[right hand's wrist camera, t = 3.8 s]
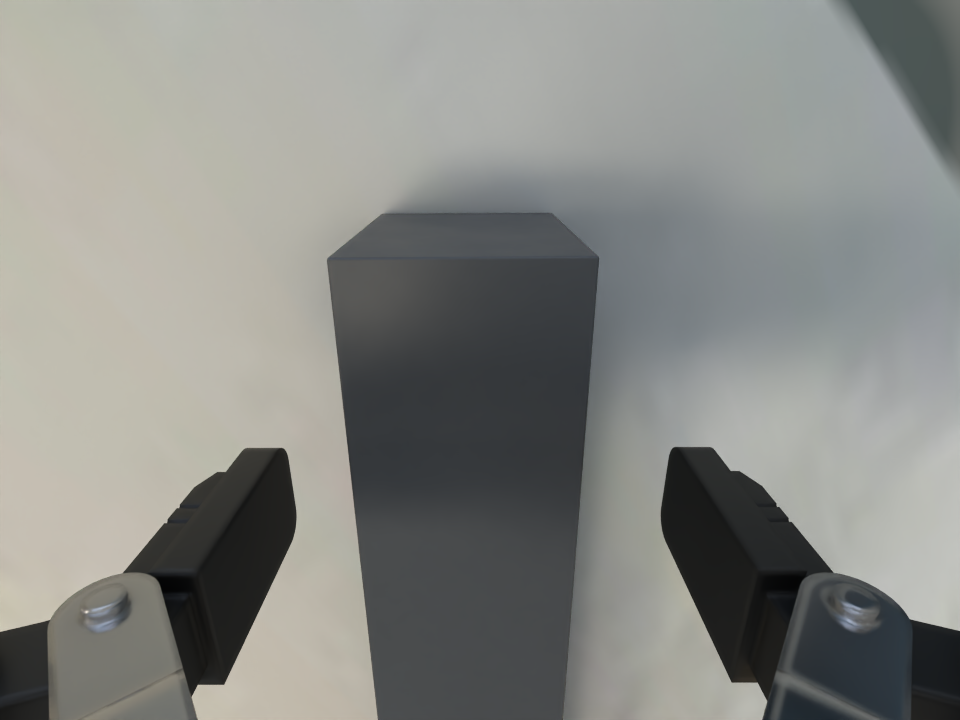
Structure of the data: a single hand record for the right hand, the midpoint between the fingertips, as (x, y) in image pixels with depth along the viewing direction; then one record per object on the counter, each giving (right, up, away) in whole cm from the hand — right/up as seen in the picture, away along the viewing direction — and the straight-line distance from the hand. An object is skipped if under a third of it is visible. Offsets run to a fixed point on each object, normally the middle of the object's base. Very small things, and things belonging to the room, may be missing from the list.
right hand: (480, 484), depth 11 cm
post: (0, -28, +18) cm, 33 cm away
